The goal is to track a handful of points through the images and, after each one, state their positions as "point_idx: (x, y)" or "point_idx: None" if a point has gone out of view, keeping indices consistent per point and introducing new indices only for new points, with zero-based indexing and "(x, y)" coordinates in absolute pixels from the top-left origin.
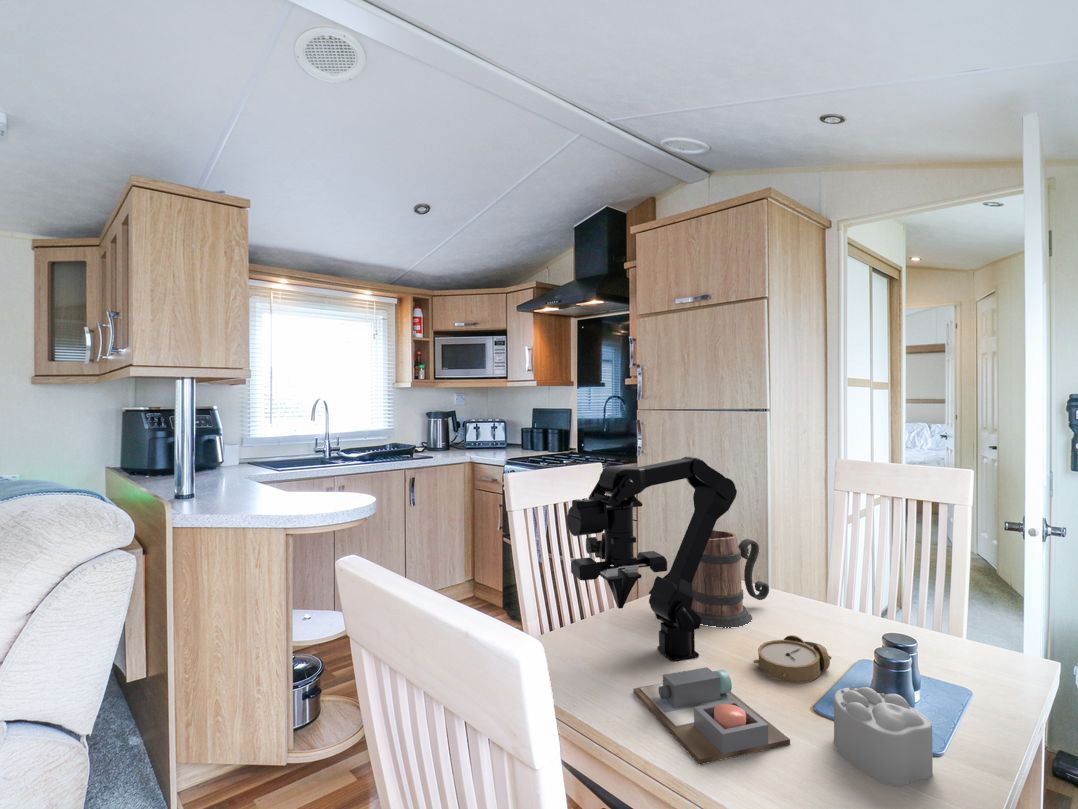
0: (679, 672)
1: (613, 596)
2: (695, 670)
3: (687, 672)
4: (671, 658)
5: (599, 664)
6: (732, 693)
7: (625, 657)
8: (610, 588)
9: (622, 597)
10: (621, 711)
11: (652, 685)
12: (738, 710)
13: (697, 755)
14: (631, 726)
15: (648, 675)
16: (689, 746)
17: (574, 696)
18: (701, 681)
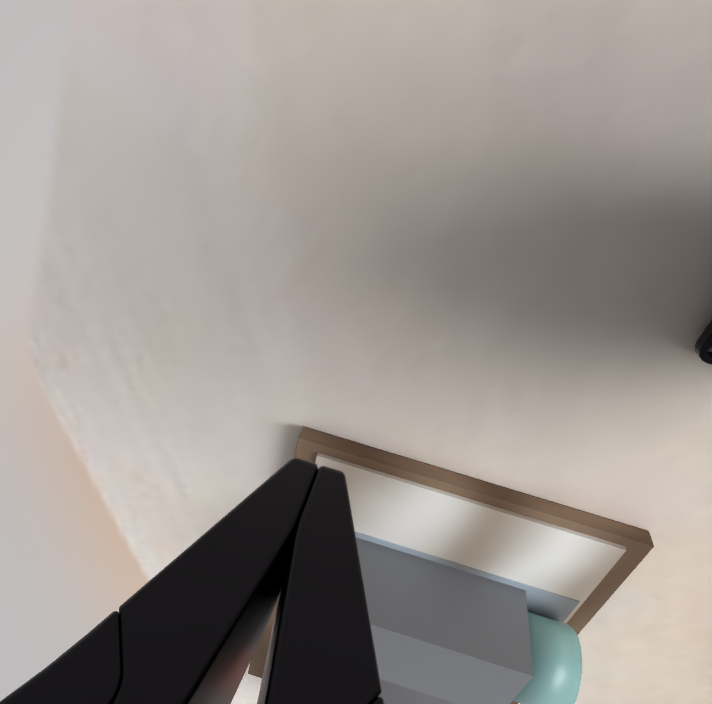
0: (398, 636)
1: (196, 547)
2: (468, 660)
3: (427, 650)
4: (699, 353)
5: (320, 130)
6: (576, 633)
7: (522, 144)
8: (72, 649)
9: (263, 672)
10: (199, 470)
11: (380, 464)
12: None
13: (252, 668)
14: (189, 526)
15: (460, 371)
16: (257, 650)
17: (80, 317)
18: (420, 689)
